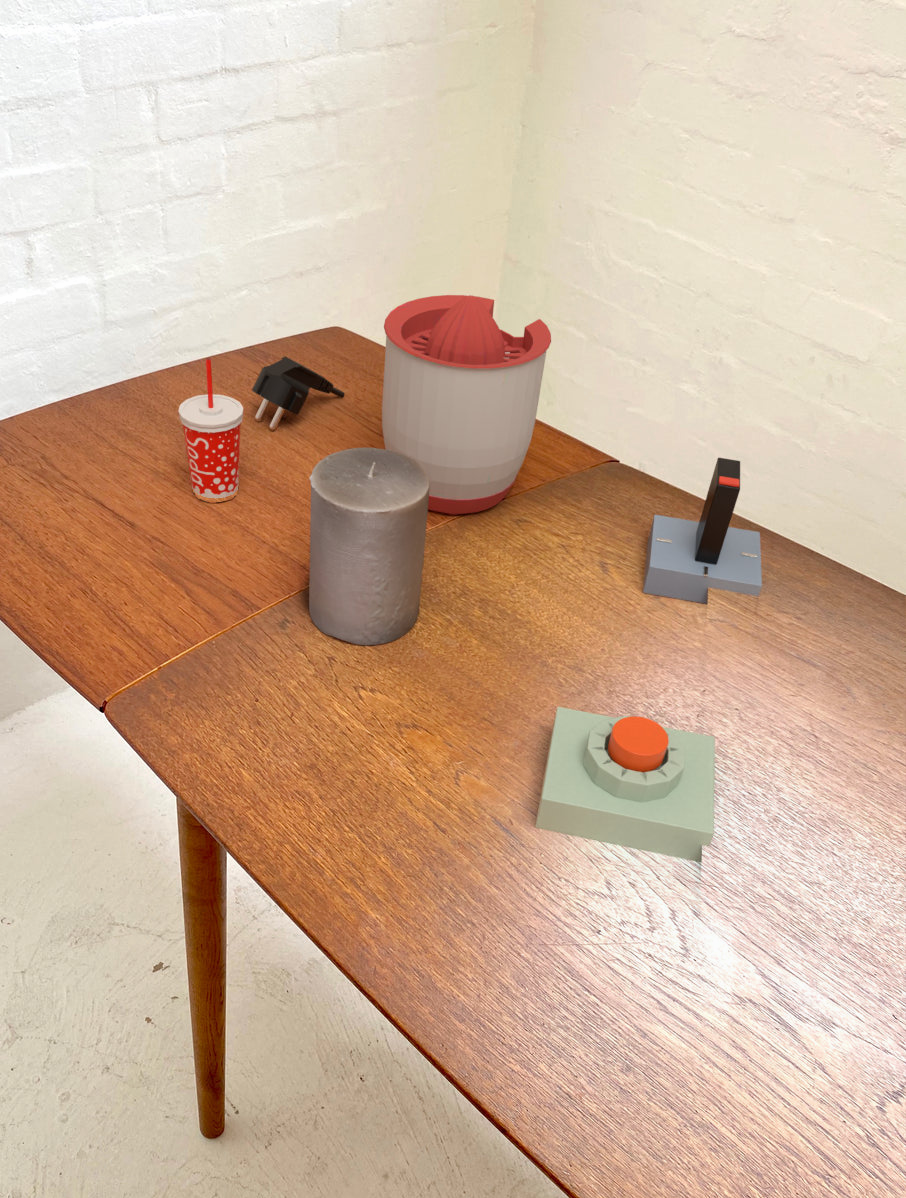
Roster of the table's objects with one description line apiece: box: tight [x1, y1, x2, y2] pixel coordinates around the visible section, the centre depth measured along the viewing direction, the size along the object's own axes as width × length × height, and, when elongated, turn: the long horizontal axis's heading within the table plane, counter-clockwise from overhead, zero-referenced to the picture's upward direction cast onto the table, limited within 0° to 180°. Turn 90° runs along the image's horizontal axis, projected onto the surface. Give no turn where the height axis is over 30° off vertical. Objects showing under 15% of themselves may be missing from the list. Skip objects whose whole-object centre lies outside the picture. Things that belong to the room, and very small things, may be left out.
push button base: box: [534, 706, 716, 863], centre depth 81 cm, size 12×10×5 cm
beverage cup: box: [178, 357, 244, 499], centre depth 107 cm, size 6×6×14 cm
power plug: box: [251, 356, 345, 431], centre depth 123 cm, size 6×8×12 cm
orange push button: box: [608, 715, 669, 772], centre depth 79 cm, size 4×4×2 cm
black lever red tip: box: [695, 457, 741, 564], centre depth 100 cm, size 5×2×8 cm, turn 166°
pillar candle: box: [308, 447, 430, 646], centre depth 93 cm, size 10×10×15 cm
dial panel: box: [642, 514, 763, 605], centre depth 104 cm, size 10×9×3 cm
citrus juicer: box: [381, 294, 552, 516], centre depth 108 cm, size 16×17×20 cm
